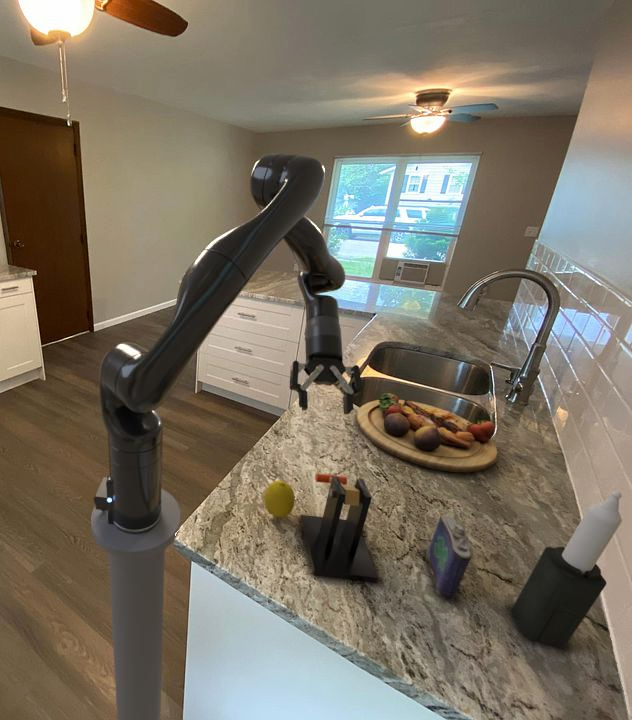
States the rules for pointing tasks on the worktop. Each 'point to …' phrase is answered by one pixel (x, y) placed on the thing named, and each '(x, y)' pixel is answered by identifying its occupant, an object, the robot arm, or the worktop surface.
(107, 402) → the robot arm
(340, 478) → the valve lever
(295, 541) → the worktop surface
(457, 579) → the flask
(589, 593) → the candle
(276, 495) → the lemon
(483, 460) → the wooden plate
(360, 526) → the black lever stand
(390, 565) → the worktop surface
